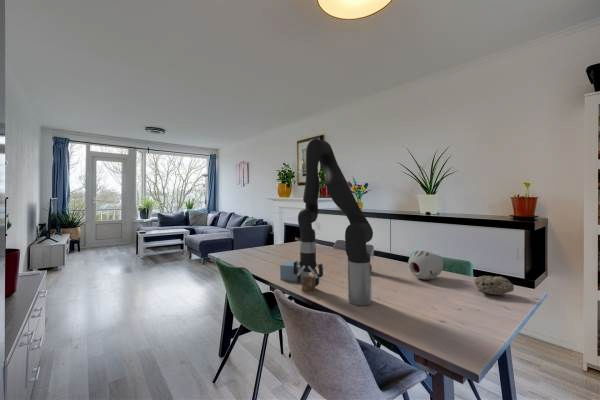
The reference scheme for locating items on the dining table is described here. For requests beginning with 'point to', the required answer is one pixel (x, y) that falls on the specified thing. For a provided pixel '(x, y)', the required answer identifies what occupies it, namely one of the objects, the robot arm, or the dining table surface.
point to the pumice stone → (493, 285)
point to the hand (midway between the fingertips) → (308, 284)
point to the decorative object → (425, 264)
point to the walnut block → (308, 283)
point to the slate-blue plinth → (290, 271)
